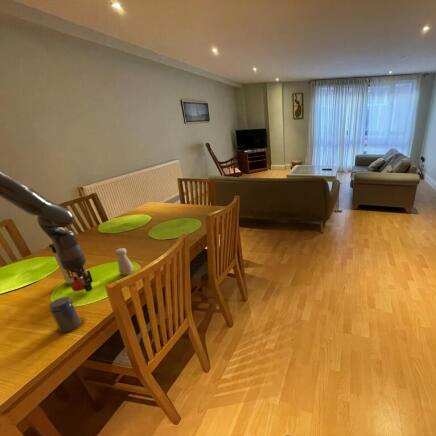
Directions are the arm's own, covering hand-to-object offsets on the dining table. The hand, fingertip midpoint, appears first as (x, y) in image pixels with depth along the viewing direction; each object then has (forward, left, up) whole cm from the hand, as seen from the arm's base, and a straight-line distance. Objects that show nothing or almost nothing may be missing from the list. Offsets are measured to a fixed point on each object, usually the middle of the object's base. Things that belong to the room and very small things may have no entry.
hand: (84, 288), depth 104 cm
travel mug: (+2, +12, -1) cm, 12 cm away
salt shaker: (+16, -4, -1) cm, 17 cm away
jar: (-14, -17, -1) cm, 22 cm away
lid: (0, 0, +3) cm, 3 cm away
